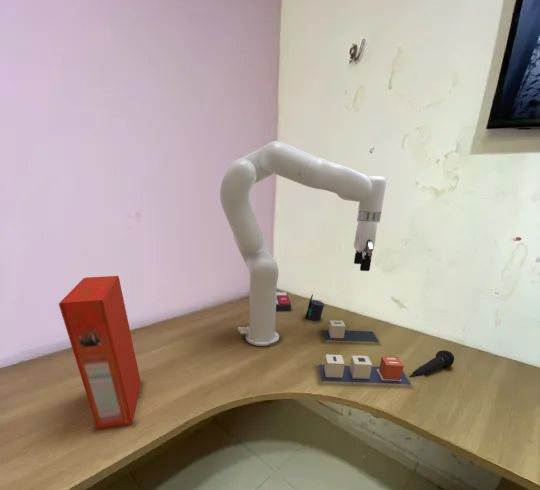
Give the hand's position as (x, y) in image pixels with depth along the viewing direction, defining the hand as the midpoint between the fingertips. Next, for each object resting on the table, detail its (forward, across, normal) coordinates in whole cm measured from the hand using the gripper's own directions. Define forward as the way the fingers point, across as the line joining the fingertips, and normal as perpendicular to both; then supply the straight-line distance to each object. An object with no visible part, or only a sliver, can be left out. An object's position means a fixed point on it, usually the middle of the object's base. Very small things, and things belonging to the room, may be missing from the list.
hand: (361, 267), depth 112 cm
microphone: (+26, +26, +19) cm, 42 cm away
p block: (+25, +31, -4) cm, 40 cm away
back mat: (+26, +5, -2) cm, 27 cm away
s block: (+25, +31, +5) cm, 40 cm away
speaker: (+26, -11, -14) cm, 32 cm away
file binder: (+26, +48, -70) cm, 89 cm away
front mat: (+26, +31, -3) cm, 41 cm away
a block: (+25, +5, -7) cm, 27 cm away
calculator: (+26, -27, -30) cm, 48 cm away
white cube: (+25, +31, -12) cm, 42 cm away
